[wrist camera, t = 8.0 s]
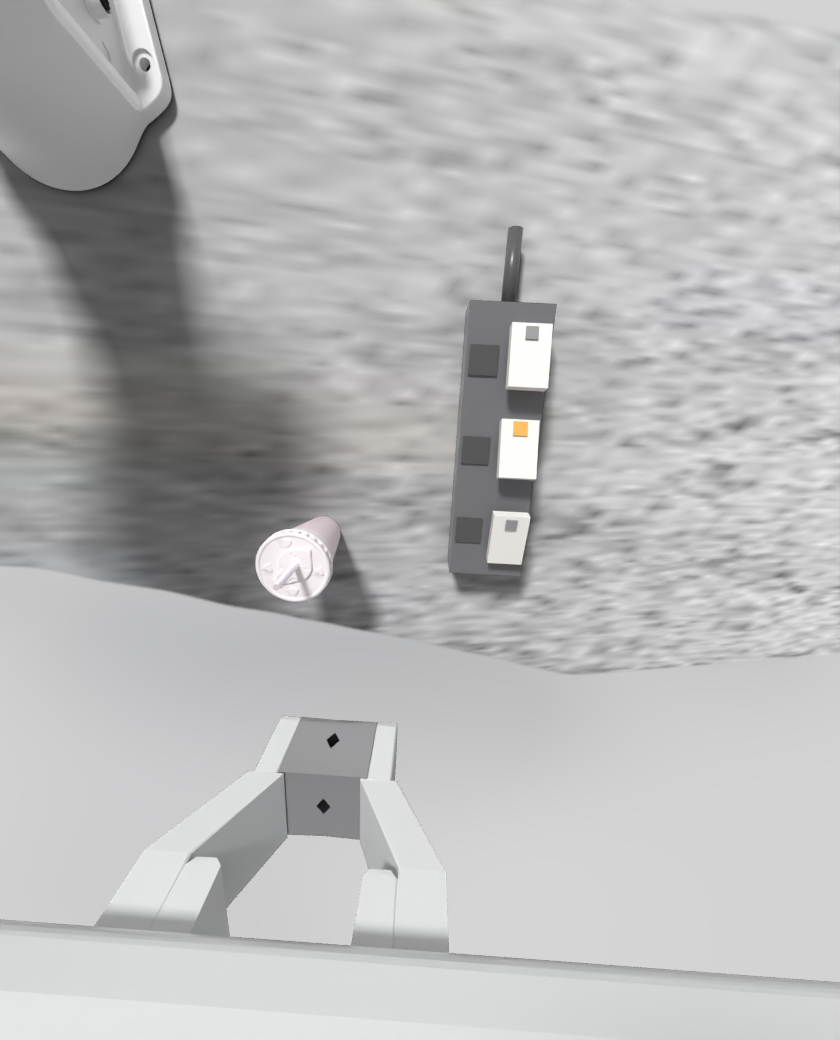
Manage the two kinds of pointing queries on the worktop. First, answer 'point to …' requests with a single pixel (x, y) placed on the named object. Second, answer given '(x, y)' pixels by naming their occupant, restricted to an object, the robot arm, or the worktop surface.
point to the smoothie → (299, 559)
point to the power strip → (490, 421)
